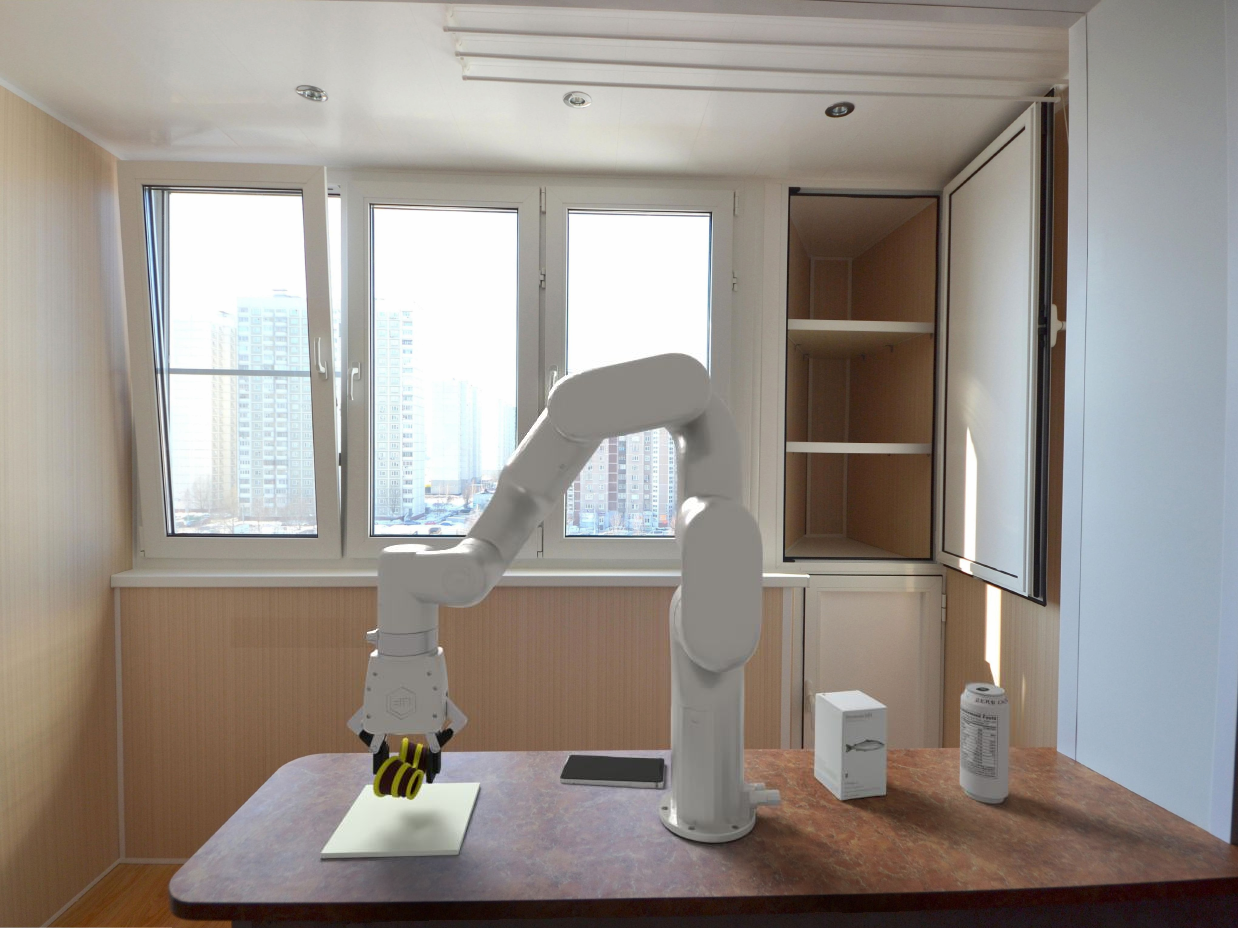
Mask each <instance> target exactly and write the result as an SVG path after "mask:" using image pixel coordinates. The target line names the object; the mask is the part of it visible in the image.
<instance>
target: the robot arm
mask: <svg viewBox="0 0 1238 928" xmlns="http://www.w3.org/2000/svg"><path fill="white" fill-rule="evenodd" d="M712 385H713V384H712V380H711V377H710V374H709V372H708V370H707V368H706V367H705V366H704V364H702V363H701V362H700V361H699V360H698V359H697V358H695V357H694V356H691V355H689V354H684V353H682V352H681V353H680V352H668V353H662V354H656V355H652V356H646V357H644V358H638V359H634V360H629V361H624V362H619V363H615V364H609V365H605V366H604V365H603V366H600V367H596V368H588V369H584V370H580V371H575V372H572V373H568V374H567V375H565V376H563V377H562V378H561V379H559V380H558V381H557V382H556V383H555V384H554V385H553V387H552V388H551V390H550V391H549V395H548V398H547V403H546V407H545V409H543V411H542V413H541V414H540V416H539V417H538V418H537V420H536V422H535V423H534V424H533V426H532V427H531V429H530V430H529V432H527V434H526V435H525V437H524V438H523V440H522V441H521V442H520V444H519V445H518V446H517V448H516V449H515V450H514V452H513V453H512V454H511V456H510V457H509V459H507V461H506V462H505V464H504V465H503V468H502V469H501V472H500V474H499V477H498V479H497V480H498V481H497V485H496V487H495V490H494V493H493V495H492V497H491V498H490V500H489V502H488V504H487V506H486V507H485V508H484V510H483V511H482V512H481V514H480V515H479V517H478V518H477V520H476V521H475V523H474V524H473V526H472V527H471V528H470V530H469V531H468V532H467V534H466V535H465V537H464V538H463V539H462V540H461V542H460V543H459V544H457V545H456V546H454V547H452V548H448V549H445V550H436V548H434V547H433V546H430V545H428V544H427V545H426V544H422V543H421V544H420V543H419V544H418V543H404V544H403V543H402V544H396V545H395V544H394V545H390V546H387V547H385V548H383V549H382V550H381V551H380V552H379V554H378V558H377V628H376V629H375V630H373V631H367V633H366V635H365V636H366V637H365V641H366V643H372V644H374V646H375V650H374V651H373V652H371V653H370V655H369V656H370V657H369V659H368V664H367V668H366V669H367V670H366V677H365V685H364V686H365V687H364V693H363V695H364V696H363V705H362V706H361V707H359V709H358V710H357V711H355V713H354V715H352V716H351V718H350V719H349V720H348V721H347V723H346V726H347V728H349V730H350V731H352V732H353V733H354V734H355V735H357V736H358V738H359V739H360V741H362V742H363V743H364V744H365V745H366V746H367V747H368V748H369V752H370V754H372V775H375V776H376V774H377V772H378V771H379V769H380V767H381V766H382V765H383V763H384V762H385V761H386V760H387V759H389V758H390V745H389V743H387V741H386V740H387V738H388V736H392V735H393V736H395V735H396V736H397V735H398V736H399V735H401V736H404V735H410V736H411V735H414V736H415V735H424V736H425V738H426V741H427V744H428V749H429V750H428V752H427V754H426V776H425V782H426V783H425V784H432V783H434V781H435V779H436V776H437V775H440V773H441V769H442V748H443V747H444V746H445V745H446V744H447V743H448V742H449V741H450V740H451V739H452V737H454V736H455V734H457V733H458V732H460V731H461V730H462V729H463V728H464V727H465V726H466V724H467V721H468V717H467V716H466V715H465V714H464V713H463V712H462V710H461V709H459V707H458V706H457V705H456V704H455V703H454V702H453V701H452V700H451V699H450V694H449V693H450V692H449V691H450V690H449V679H448V672H447V665H446V663H447V662H446V657H445V652H444V648H442V647H440V646H439V606H443V607H450V608H459V609H460V608H463V609H464V608H470V607H473V606H475V605H478V604H479V603H481V602H482V601H483V600H484V599H485V598H486V597H487V596H488V595H489V594H490V592H491V591H492V589H493V588H494V587H495V586H496V585H497V583H499V581H500V580H501V579H502V577H503V576H504V574H505V573H506V571H507V570H508V568H510V566H511V564H512V563H513V562H514V561H515V559H516V557H518V555H519V553H520V551H522V549H523V547H524V546H525V545H526V543H527V542H528V540H530V538H531V536H532V535H533V534H534V532H535V531H536V530H537V528H538V527H539V526H540V525H541V524H542V523H543V521H544V520H546V519H547V518H548V516H549V515H551V513H553V511H554V510H555V508H556V507H557V505H558V504H559V503H560V502H561V500H562V498H564V496H565V494H566V493H567V491H568V490H569V489H570V487H572V484H573V483H574V482H575V480H576V478H577V477H578V476H579V475H580V473H581V472H582V470H584V468H585V466H586V465H587V463H589V461H590V460H591V458H592V457H593V455H594V454H595V453H596V451H597V450H598V448H599V447H600V446H601V444H602V443H603V441H604V440H607V439H613V438H617V437H623V436H628V435H633V434H638V433H643V432H647V431H653V430H656V429H657V430H658V429H661V428H664V429H665V430H667V432H668V433H669V435H670V436H671V438H672V440H673V445H674V448H675V454H676V455H675V456H676V458H675V459H676V507H675V521H674V539H675V543H676V545H677V547H678V550H679V552H680V553H681V554H680V557H681V560H680V562H681V563H680V569H681V570H680V585H679V586H678V587H677V588H676V590H675V592H674V593H673V595H672V598H671V602H670V605H669V613H668V615H669V616H668V621H669V623H668V624H669V626H668V628H669V639H670V640H669V641H670V672H671V673H670V679H671V680H670V683H671V684H670V685H671V686H670V687H671V688H670V690H671V691H670V695H671V696H670V790H669V791H668V792H665V794H663V796H662V797H661V798H660V799H659V803H658V816H659V819H660V821H661V823H662V824H663V825H664V827H666V828H667V829H668V830H670V831H671V832H672V833H674V834H676V835H678V836H679V837H682V838H684V839H688V840H691V841H695V842H703V843H711V844H712V843H714V844H715V843H727V842H731V841H734V840H735V841H736V840H737V839H740V838H742V837H744V836H746V835H747V834H749V833H750V831H752V830H753V828H754V826H755V824H756V810H757V809H758V807H763V806H764V807H780V806H781V805H782V804H781V803H782V798H781V793H780V790H779V789H767V787H766V784H765V783H766V782H755V783H748V781H746V780H745V779H744V778H745V777H744V775H745V774H744V773H745V772H744V770H745V769H744V768H745V767H744V761H745V760H744V758H745V757H744V756H745V754H744V752H745V749H744V748H745V745H744V743H745V735H744V734H745V665H746V664H747V663H748V662H749V660H750V659H751V658H752V657H753V656H754V654H755V652H756V650H757V648H758V646H759V642H760V639H761V633H762V624H763V623H762V622H763V621H762V620H763V619H762V618H763V581H764V579H763V577H764V573H763V572H764V551H763V549H764V548H763V547H764V545H763V538H762V534H761V533H762V532H761V529H760V526H759V523H758V521H757V520H756V518H755V517H754V515H753V514H752V513H751V511H750V510H749V509H748V508H747V507H746V506H744V499H743V498H744V497H743V490H744V488H743V487H744V486H743V480H744V479H743V458H742V457H743V455H742V443H741V437H740V432H739V428H738V426H737V423H736V420H735V418H734V416H733V414H732V413H731V411H730V409H729V407H728V406H727V405H726V403H725V401H723V399H722V398H721V397H720V396H719V394H718V393H717V392H716V391H715V390H713V386H712ZM447 718H449V719H450V721H451V723H450V724H449V725H447V726H446V727H445V728H444V729H443V730H442V728H443V727H444V724H445V721H446V719H447Z"/></svg>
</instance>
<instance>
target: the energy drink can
mask: <svg viewBox="0 0 1238 928" xmlns="http://www.w3.org/2000/svg"><path fill="white" fill-rule="evenodd" d="M1005 693H1006V691H1005V689H1004V688H1002V687H1000V686H999V685H998V686H997V685H995V684H991V683H988V682H979V681H978V682H968V683H966V684H965V689H964V690H963V692H962V694H961V695H960V712H959V713H960V716H959V717H960V718H959V719H960V723H959V724H960V726H959V727H960V728H959V730H960V731H959V732H960V734H959V785H960V786H961V788H962V789H963V791H964V794H965V795H967V796H968V797H969V798H971V799H973V800H975V801H978V802H981V803H986V804H1001V803H1003V802H1004V801H1005V798H1006V797H1008V796H1009V794H1010V792H1009V791H1010V789H1009V787H1010V784H1009V783H1010V781H1009V780H1010V776H1009V775H1010V772H1009V771H1010V719H1011V718H1010V713H1011V712H1010V711H1011V709H1010V707H1011V705H1010V701H1009V700H1008V698H1007V697H1006V695H1005Z"/></svg>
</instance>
